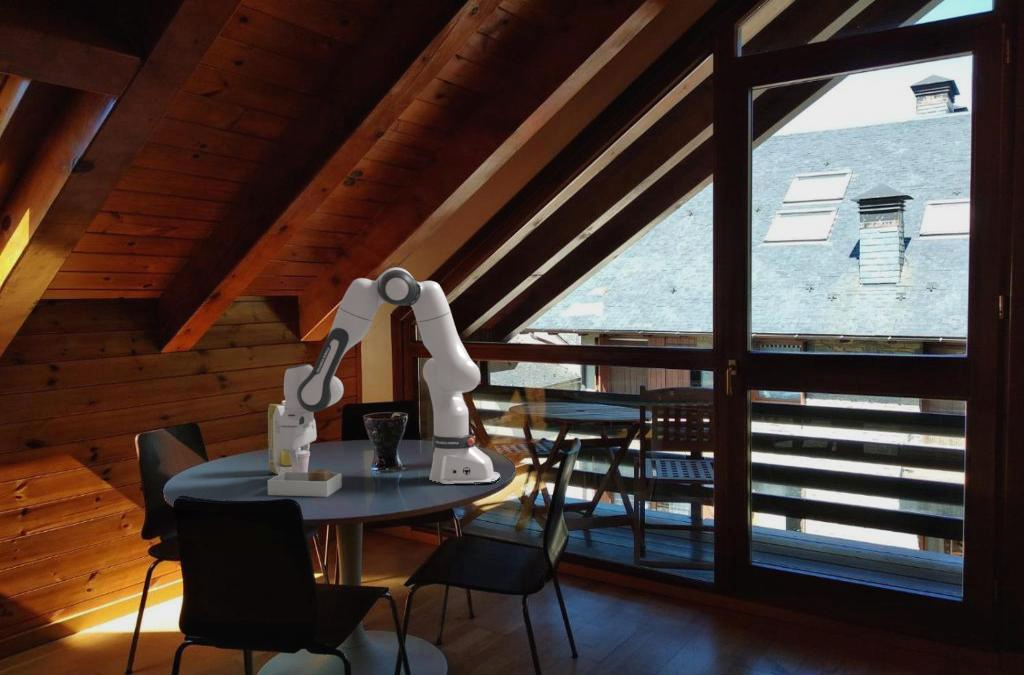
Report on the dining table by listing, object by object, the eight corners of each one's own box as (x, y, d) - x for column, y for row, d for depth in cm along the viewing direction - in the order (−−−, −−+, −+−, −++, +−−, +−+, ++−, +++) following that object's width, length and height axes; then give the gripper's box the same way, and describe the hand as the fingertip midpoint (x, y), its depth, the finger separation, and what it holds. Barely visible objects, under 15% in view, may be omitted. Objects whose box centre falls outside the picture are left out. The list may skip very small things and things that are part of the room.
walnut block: (331, 489, 244) (330, 469, 244) (325, 493, 239) (324, 473, 239) (315, 488, 245) (314, 469, 244) (308, 492, 240) (308, 472, 239)
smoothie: (288, 481, 258) (287, 437, 257) (309, 479, 260) (308, 436, 260) (290, 485, 252) (289, 440, 251) (312, 484, 254) (311, 439, 254)
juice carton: (276, 476, 266) (275, 402, 264) (266, 472, 272) (265, 400, 270) (303, 472, 271) (302, 400, 270) (293, 468, 278) (292, 398, 276)
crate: (341, 489, 247) (341, 473, 247) (327, 499, 235) (327, 482, 235) (284, 487, 250) (284, 471, 249) (267, 497, 238) (267, 480, 237)
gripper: (302, 411, 266) (303, 453, 267) (275, 421, 246) (276, 466, 246) (321, 411, 265) (321, 454, 266) (295, 421, 245) (296, 467, 245)
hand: (299, 460), depth 256 cm, fingers closed on smoothie, 6 cm apart
